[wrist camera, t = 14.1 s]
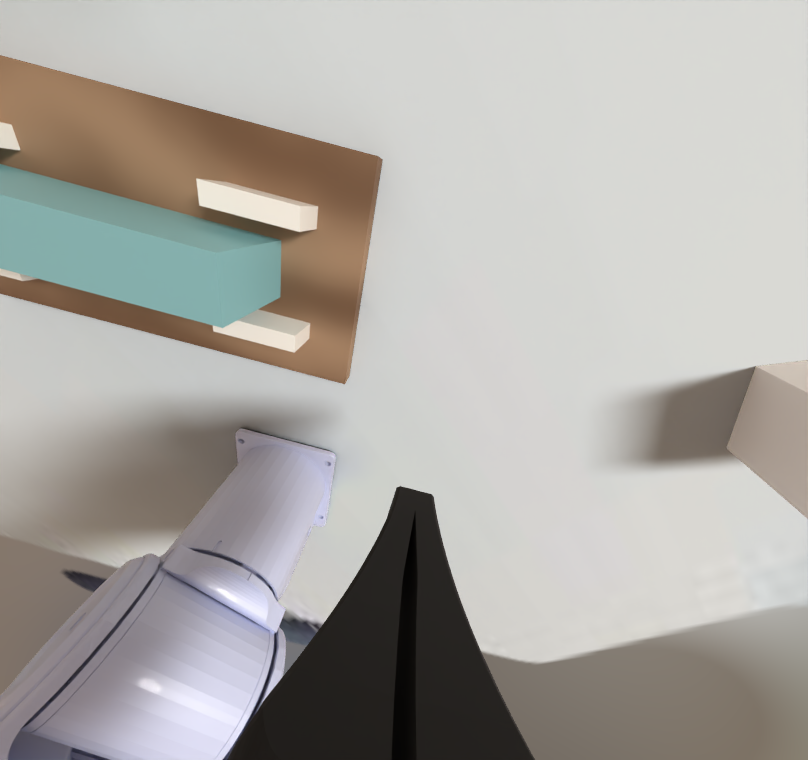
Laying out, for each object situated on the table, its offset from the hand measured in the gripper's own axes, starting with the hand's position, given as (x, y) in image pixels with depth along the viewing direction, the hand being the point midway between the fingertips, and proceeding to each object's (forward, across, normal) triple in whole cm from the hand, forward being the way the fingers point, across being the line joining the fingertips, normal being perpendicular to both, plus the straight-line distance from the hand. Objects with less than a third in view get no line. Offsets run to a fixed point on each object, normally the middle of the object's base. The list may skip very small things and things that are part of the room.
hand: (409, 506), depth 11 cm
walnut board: (+9, +17, -5) cm, 20 cm away
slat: (+8, +17, -5) cm, 20 cm away
